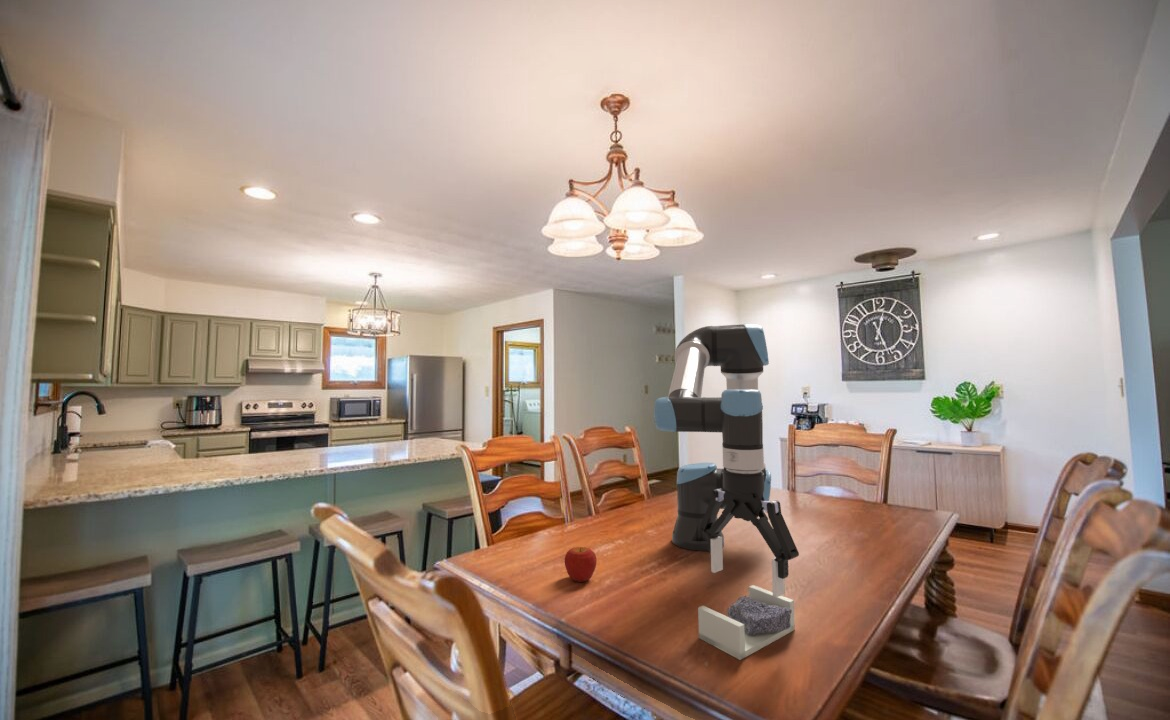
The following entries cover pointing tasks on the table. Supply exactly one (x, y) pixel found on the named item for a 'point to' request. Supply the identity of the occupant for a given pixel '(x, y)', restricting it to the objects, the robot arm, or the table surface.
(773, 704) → the table surface
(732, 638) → the u rest
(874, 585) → the table surface
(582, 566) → the apple
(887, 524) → the table surface
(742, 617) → the rock
